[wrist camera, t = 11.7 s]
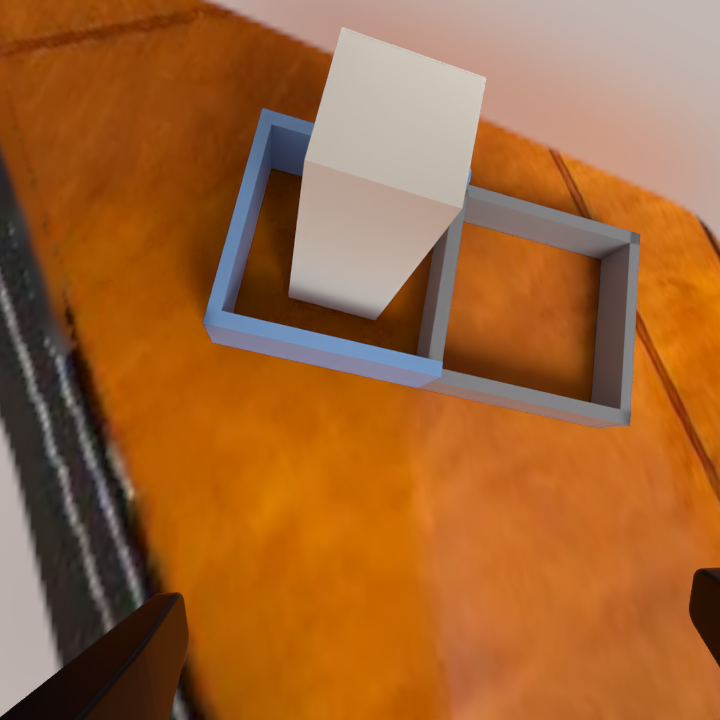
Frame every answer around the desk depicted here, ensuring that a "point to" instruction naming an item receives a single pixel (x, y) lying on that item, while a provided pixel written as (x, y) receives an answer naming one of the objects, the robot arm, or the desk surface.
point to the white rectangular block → (381, 172)
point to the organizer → (438, 294)
